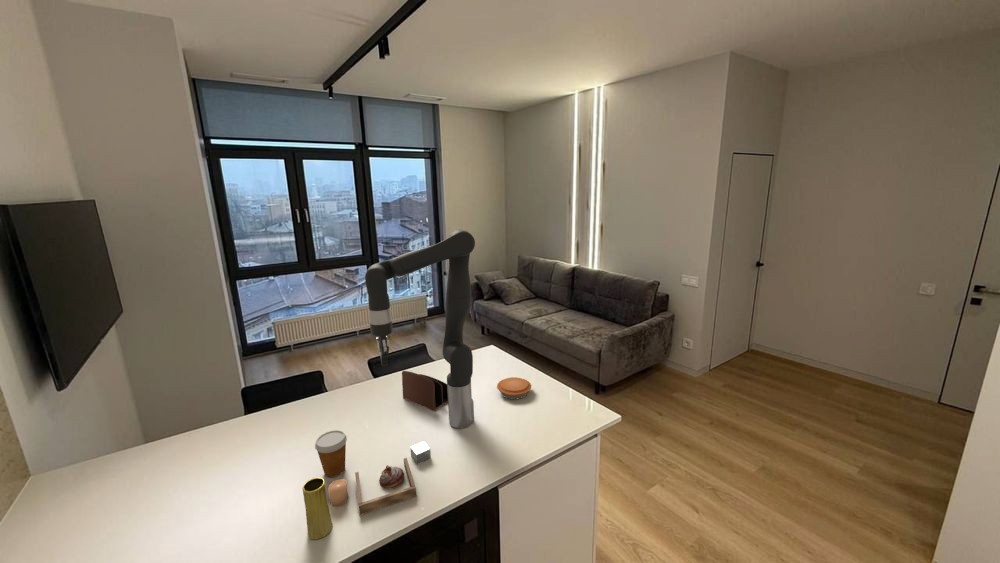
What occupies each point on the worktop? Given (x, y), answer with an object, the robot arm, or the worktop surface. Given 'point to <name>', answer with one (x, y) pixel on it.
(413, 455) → the gray block
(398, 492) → the display bay
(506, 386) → the pie
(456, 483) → the worktop surface
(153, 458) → the worktop surface
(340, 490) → the peach rounded blob
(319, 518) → the vase
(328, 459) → the disposable coffee cup
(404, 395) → the letter holder
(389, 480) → the pastry
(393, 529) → the worktop surface
